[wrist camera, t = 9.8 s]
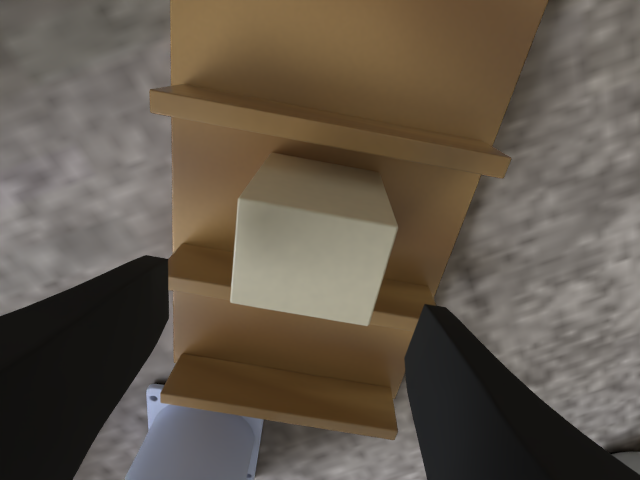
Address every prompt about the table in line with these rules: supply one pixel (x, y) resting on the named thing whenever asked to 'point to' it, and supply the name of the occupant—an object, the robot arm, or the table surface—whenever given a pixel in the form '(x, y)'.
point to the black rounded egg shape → (630, 459)
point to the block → (312, 240)
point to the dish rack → (336, 148)
